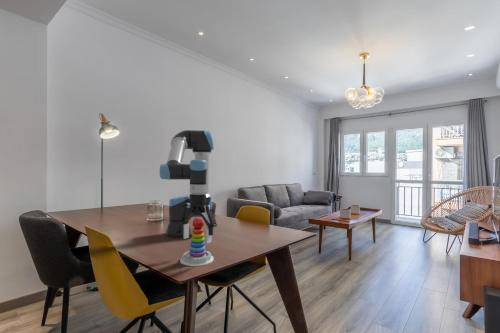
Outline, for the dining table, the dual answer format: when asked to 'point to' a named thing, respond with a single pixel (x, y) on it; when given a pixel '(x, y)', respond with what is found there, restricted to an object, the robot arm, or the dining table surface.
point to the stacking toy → (197, 240)
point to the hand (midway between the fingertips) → (197, 240)
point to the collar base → (196, 259)
